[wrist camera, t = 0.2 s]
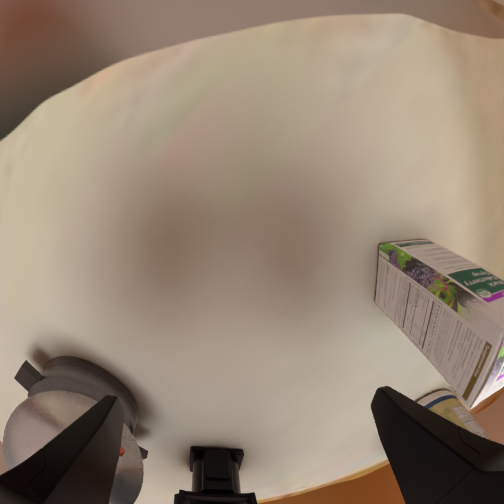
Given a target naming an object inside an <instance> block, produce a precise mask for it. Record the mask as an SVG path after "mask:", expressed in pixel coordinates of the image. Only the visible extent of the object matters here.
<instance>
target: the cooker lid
mask: <svg viewBox="0 0 504 504" xmlns="http://www.w3.org/2000/svg"><path fill="white" fill-rule="evenodd" d="M97 402H98V401H96V400H94V399H92V398H90V397H87V396H84V395H82V394H78V393H74V392H67V391H47V392H42V393H38V394H35V395H33V396H31V397H29V398H27V399H26V400H24V401H23V402H22V403H20V404H19V405H18V406H17V407H16V408H15V410H14V411H13V412H12V414H11V416H10V418H9V420H8V422H7V424H6V428H5V431H4V438H3V451H4V457H5V461H6V464H7V467H8V470H10V469H12V468H14V467H15V466H17V465H18V464H20V463H22V462H23V461H25V460H26V459H28V458H29V457H30V456H32V455H33V454H34V453H36V452H37V451H38V450H39V449H41V448H43V446H44V445H46V444H47V443H48V442H49V441H51V440H52V439H53V438H54V437H56V436H57V435H58V434H59V433H60V432H62V431H63V430H64V429H65V428H67V427H68V426H69V425H70V424H72V423H73V422H74V421H75V420H76V419H78V418H79V417H80V416H81V415H83V414H84V413H85V412H86V411H87V410H89V409H90V408H91V407H92V406H93V405H95V404H96V403H97ZM143 475H144V474H143V461H142V456H141V453H140V449H139V447H138V444H137V442H136V440H135V438H134V436H133V434H132V433H131V432H130V430H129V429H128V427H127V426H126V425H125V423H124V425H123V432H122V440H121V449H120V455H119V460H118V464H117V468H116V472H115V477H114V481H113V486H112V491H111V495H110V500H109V504H134V502H135V501H136V499H137V497H138V495H139V493H140V490H141V487H142V483H143Z"/></svg>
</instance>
